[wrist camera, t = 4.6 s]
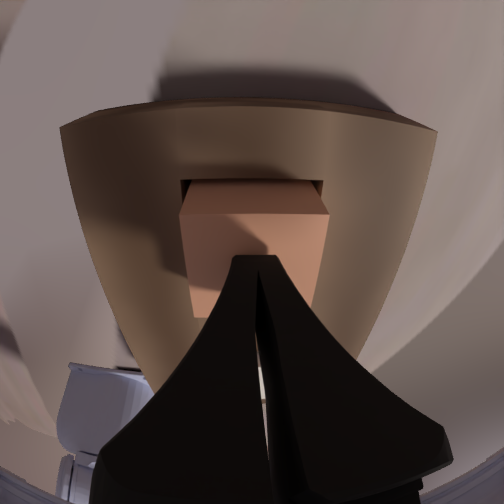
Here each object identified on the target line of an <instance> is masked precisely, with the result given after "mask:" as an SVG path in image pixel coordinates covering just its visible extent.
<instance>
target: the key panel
mask: <svg viewBox="0 0 504 504" xmlns="http://www.w3.org/2000/svg"><path fill="white" fill-rule="evenodd" d="M437 133H438V132H437V131H435V130H433V129H431V128H429V127H427V126H424V125H422V124H420V123H418V122H415V121H413V120H411V119H408V118H406V117H404V116H401V115H399V114H395V113H391V112H386V111H381V110H375V109H370V108H364V107H358V106H352V105H345V104H337V103H329V102H321V101H311V100H299V99H285V98H263V97H215V98H193V99H179V100H167V101H158V102H149V103H141V104H134V105H127V106H122V107H115V108H109V109H104V110H98V111H96V112H93V113H91V114H89V115H87V116H84V117H81V118H79V119H77V120H74V121H72V122H71V123H68V124H66V125H64V126H62V127H60V134H61V140H62V146H63V152H64V157H65V162H66V167H67V172H68V176H69V181H70V185H71V189H72V193H73V197H74V201H75V205H76V209H77V212H78V216H79V219H80V223H81V226H82V230H83V233H84V236H85V239H86V242H87V245H88V248H89V251H90V254H91V257H92V260H93V263H94V266H95V269H96V271H97V274H98V277H99V279H100V282H101V285H102V287H103V289H104V292H105V295H106V297H107V299H108V302H109V304H110V307H111V309H112V311H113V314H114V316H115V318H116V320H117V323H118V325H119V327H120V329H121V331H122V334H123V336H124V338H125V340H126V342H127V344H128V346H129V348H130V350H131V352H132V354H133V356H134V358H135V360H136V362H137V364H138V366H139V367H140V369H141V371H142V373H143V375H144V377H145V379H146V380H147V382H148V384H149V386H150V387H151V389H152V391H153V393H154V394H155V393H156V392H157V391H158V390H159V389H160V388H161V386H162V385H163V384H164V383H165V381H166V380H167V379H168V378H169V376H170V375H171V374H172V372H173V371H174V370H175V368H176V367H177V366H178V364H179V363H180V362H181V360H182V359H183V357H184V356H185V355H186V353H187V352H188V350H189V349H190V347H191V346H192V344H193V343H194V341H195V339H196V338H197V336H198V334H199V333H200V331H201V329H202V328H203V326H204V324H205V322H206V320H207V319H208V318H196V317H194V313H193V307H192V302H191V296H190V290H189V283H188V277H187V271H186V264H185V257H184V250H183V243H182V235H181V227H180V219H179V213H180V210H181V208H182V205H183V202H184V199H185V197H186V194H187V191H188V189H189V186H190V183H191V181H192V179H219V178H270V179H306V180H310V181H311V182H312V184H313V186H314V188H315V189H316V191H317V193H318V195H319V196H320V198H321V200H322V202H323V203H324V205H325V207H326V209H327V211H328V212H329V214H330V216H329V222H328V228H327V233H326V238H325V243H324V249H323V254H322V259H321V263H320V268H319V273H318V278H317V282H316V287H315V291H314V296H313V300H312V304H311V309H312V311H313V312H314V313H315V315H316V316H317V317H318V318H319V320H320V321H321V322H322V323H323V325H324V326H325V327H326V328H327V329H328V331H329V332H330V333H331V334H332V335H333V336H334V338H335V339H336V340H337V341H338V342H339V343H340V344H341V345H342V346H343V347H344V348H345V350H346V351H347V352H348V353H349V354H350V355H351V356H352V357H353V358H354V359H355V360H356V359H357V357H358V355H359V354H360V352H361V350H362V348H363V346H364V344H365V342H366V340H367V338H368V336H369V334H370V332H371V330H372V328H373V326H374V324H375V322H376V319H377V317H378V315H379V313H380V311H381V309H382V306H383V304H384V302H385V299H386V297H387V295H388V293H389V290H390V288H391V285H392V283H393V281H394V278H395V276H396V273H397V271H398V268H399V265H400V263H401V260H402V257H403V255H404V252H405V249H406V247H407V244H408V241H409V238H410V235H411V232H412V229H413V226H414V223H415V220H416V217H417V213H418V210H419V207H420V203H421V200H422V197H423V193H424V189H425V186H426V182H427V178H428V174H429V170H430V166H431V162H432V157H433V153H434V148H435V143H436V138H437ZM255 336H256V333H255ZM256 348H257V352H258V346H257V340H256ZM261 400H262V404H263V403H266V399H261Z"/></svg>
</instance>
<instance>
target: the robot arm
mask: <svg viewBox="0 0 504 504" xmlns="http://www.w3.org/2000/svg"><path fill="white" fill-rule="evenodd" d="M255 333H256V336H255ZM256 340H257V346H258V353H259V359H260V365H261V371H262V378H263V384H264V391H265V399H266V415H267V433H268V452H267V444H266V436H265V427H264V418H263V409H262V400H261V390H260V380H259V370H258V359H257V348H256ZM68 367H69V368H70V369H71V373H70V376H69V379H68V382H67V385H66V389H65V392H64V395H63V399H62V402H61V405H60V409H59V413H58V417H57V435H58V439H59V441H60V443H61V445H62V446H63V447H64V448H65V449H66V450H67V451H69V452H71V453H74V454H76V457H75V460H73V458H74V456H73V455H70V454H68V455H67V456H64V457H62V459H61V463H60V467H59V473H58V478H57V485H56V494H55V495H52V494H50V493H48V492H45V491H43V490H41V489H39V488H37V487H35V486H33V485H31V484H29V483H27V482H26V480H25V479H23V478H21V477H19V476H17V475H15V474H14V473H12V472H10V471H8V470H6V469H5V468H3V467H1V466H0V504H504V447H503V448H502V449H500V450H499V451H497V452H496V453H494V454H493V455H491V456H490V457H488V458H487V459H486V461H485V462H483V463H481V464H480V465H478V466H477V467H475V468H473V469H471V470H470V471H468V472H466V473H464V474H463V475H461V476H459V477H457V478H455V479H453V480H451V481H450V482H448V483H445V484H443V485H441V486H439V487H437V488H435V489H433V490H431V491H429V492H426V493H424V494H422V495H419V492H418V491H419V490H421V489H423V482H422V477H424V476H427V475H429V474H431V473H433V472H436V471H438V470H440V469H442V468H444V467H446V466H448V465H450V464H451V463H452V462H453V455H452V451H451V448H450V444H449V441H448V438H447V435H446V433H445V430H444V428H443V426H441V425H440V424H438V423H437V422H435V421H433V420H432V419H430V418H428V417H427V416H425V415H424V414H422V413H421V412H419V411H418V410H416V409H414V408H413V407H411V406H410V405H409V404H407V403H406V402H404V401H403V400H402V399H401V398H399V397H398V396H397V395H395V394H394V393H393V392H391V391H390V390H389V389H388V388H387V387H386V386H384V385H383V384H382V383H381V382H380V381H378V380H377V379H376V378H375V377H374V376H373V375H372V374H370V373H369V372H368V371H367V370H366V369H365V368H364V367H363V366H361V365H360V364H359V363H358V362H357V361H356V360H355V359H354V358H353V357H352V356H351V355H350V354H349V353H348V352H347V351H346V350H345V348H344V347H343V346H342V345H341V344H340V343H339V342H338V341H337V340H336V339H335V338H334V336H333V335H332V334H331V333H330V332H329V331H328V329H327V328H326V327H325V326H324V325H323V323H322V322H321V321H320V320H319V318H318V317H317V316H316V315H315V313H314V312H313V311H312V309H311V308H310V307H309V305H308V304H307V302H306V301H305V300H304V298H303V297H302V295H301V294H300V292H299V291H298V290H297V288H296V286H295V285H294V283H293V282H292V280H291V279H290V277H289V275H288V274H287V272H286V270H285V269H284V267H283V265H282V263H281V261H280V259H279V258H278V257H277V256H276V255H235V256H234V257H233V258H232V261H231V266H230V269H229V273H228V275H227V278H226V281H225V283H224V286H223V288H222V290H221V293H220V295H219V297H218V299H217V301H216V304H215V306H214V308H213V309H212V311H211V313H210V315H209V317H208V319H207V320H206V322H205V324H204V326H203V328H202V329H201V331H200V333H199V334H198V336H197V338H196V339H195V341H194V343H193V344H192V346H191V347H190V349H189V350H188V352H187V353H186V355H185V356H184V357H183V359H182V360H181V362H180V363H179V364H178V366H177V367H176V368H175V370H174V371H173V372H172V374H171V375H170V376H169V378H168V379H167V380H166V381H165V383H164V384H163V385H162V386H161V388H160V389H159V390H158V391H157V392H156V393H155V394H154V393H153V391H152V389H151V387H150V386H149V384H148V382H147V380H146V379H145V377H144V375H143V373H142V372H134V371H125V370H117V369H109V368H102V367H95V366H88V365H82V364H77V363H71V362H70V363H69V365H68ZM268 453H269V454H268ZM268 455H269V460H268Z"/></svg>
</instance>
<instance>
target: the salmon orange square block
mask: <svg viewBox="0 0 504 504" xmlns="http://www.w3.org/2000/svg"><path fill="white" fill-rule="evenodd" d="M329 216H330V214H329V212H328V211H327V209H326V207H325V205H324V203H323V202H322V200H321V198H320V196H319V195H318V193H317V191H316V189H315V188H314V186H313V184H312V182H311V181H310V180H306V179H270V178H219V179H192V181H191V183H190V186H189V189H188V191H187V194H186V197H185V199H184V202H183V205H182V208H181V210H180V213H179V219H180V227H181V235H182V243H183V250H184V257H185V264H186V271H187V277H188V283H189V290H190V296H191V302H192V307H193V313H194V317H196V318H208V317H209V315H210V313H211V311H212V309H213V308H214V306H215V304H216V301H217V299H218V297H219V295H220V293H221V290H222V288H223V286H224V283H225V281H226V278H227V275H228V273H229V269H230V266H231V261H232V258H233V257H234V256H235V255H276V256H277V257H278V258H279V259H280V261H281V263H282V265H283V267H284V269H285V270H286V272H287V274H288V275H289V277H290V279H291V280H292V282H293V283H294V285H295V286H296V288H297V290H298V291H299V292H300V294H301V295H302V297H303V298H304V300H305V301H306V302H307V304H308V305H309V307H310V308H311V304H312V300H313V296H314V291H315V287H316V282H317V278H318V273H319V268H320V263H321V259H322V254H323V249H324V243H325V238H326V233H327V228H328V222H329Z"/></svg>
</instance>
